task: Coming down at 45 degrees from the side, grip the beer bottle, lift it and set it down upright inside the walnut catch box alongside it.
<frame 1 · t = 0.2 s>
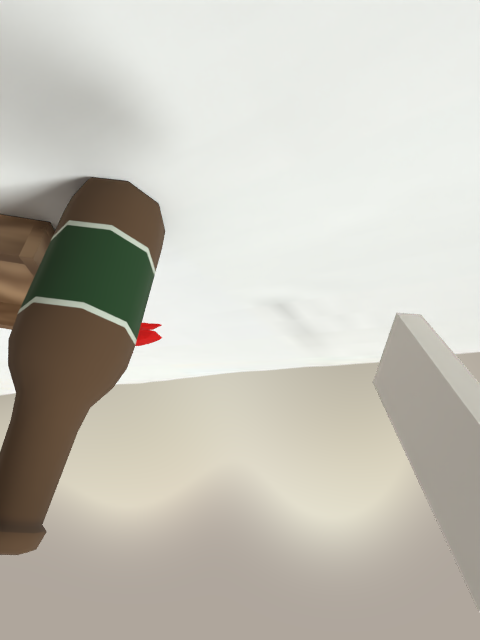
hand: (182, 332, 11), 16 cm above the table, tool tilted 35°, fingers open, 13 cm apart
beer bottle: (122, 209, 30), on the table
cloth: (109, 334, 57), on the table
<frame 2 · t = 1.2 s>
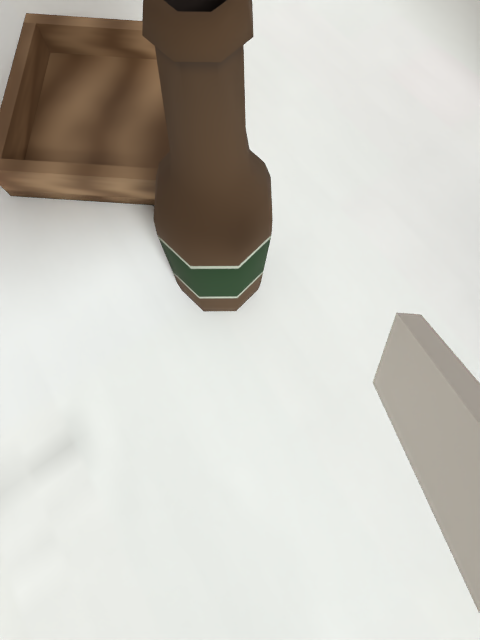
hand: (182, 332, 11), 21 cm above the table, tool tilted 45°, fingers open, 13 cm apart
catch box: (116, 125, 38), on the table
beer bottle: (220, 277, 34), on the table
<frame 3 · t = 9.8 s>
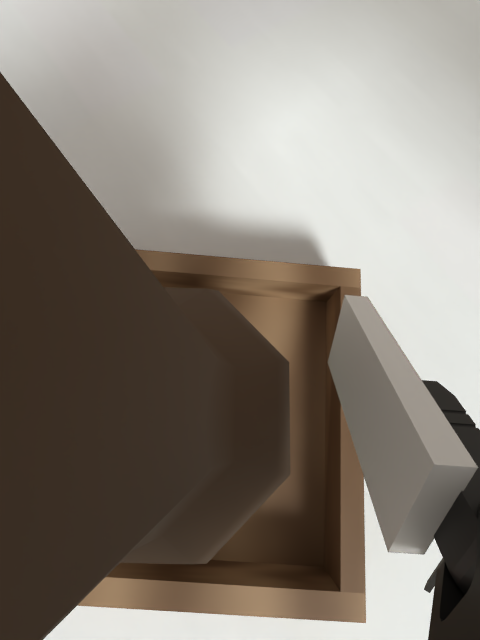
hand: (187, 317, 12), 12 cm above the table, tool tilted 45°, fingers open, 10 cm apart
catch box: (199, 412, 23), on the table
beer bottle: (201, 415, 22), point 1 cm above the table, touching catch box
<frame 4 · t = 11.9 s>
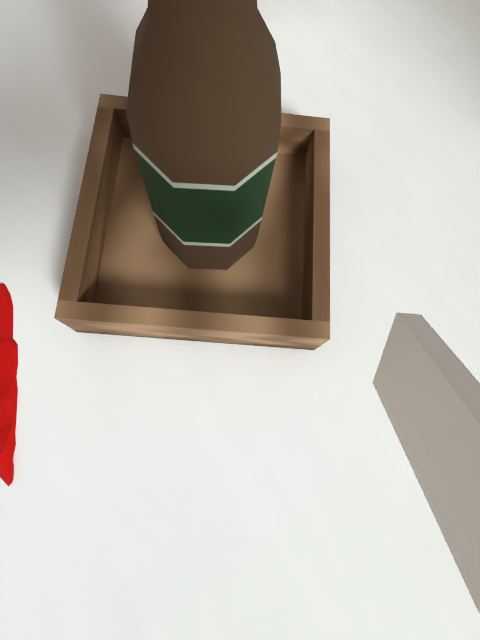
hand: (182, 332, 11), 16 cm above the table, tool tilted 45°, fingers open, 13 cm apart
catch box: (207, 234, 30), on the table
beer bottle: (209, 231, 29), point 1 cm above the table, touching catch box
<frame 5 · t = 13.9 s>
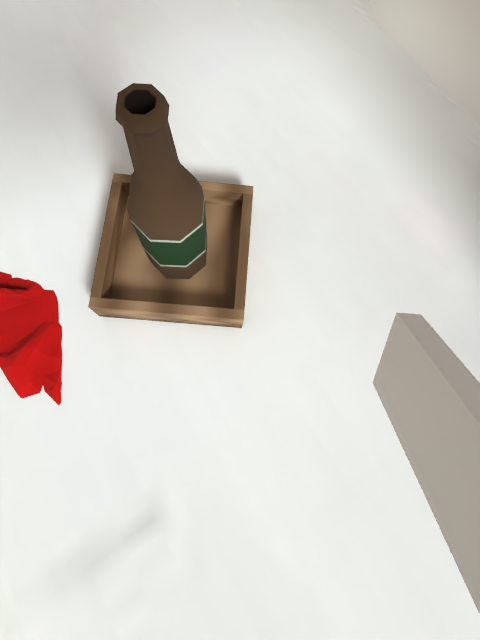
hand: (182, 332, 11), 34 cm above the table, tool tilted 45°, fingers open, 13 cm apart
catch box: (179, 256, 48), on the table
beer bottle: (180, 255, 48), point 1 cm above the table, touching catch box
cloth: (10, 324, 46), on the table
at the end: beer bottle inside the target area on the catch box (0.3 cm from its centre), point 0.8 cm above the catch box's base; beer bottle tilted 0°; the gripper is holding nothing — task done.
